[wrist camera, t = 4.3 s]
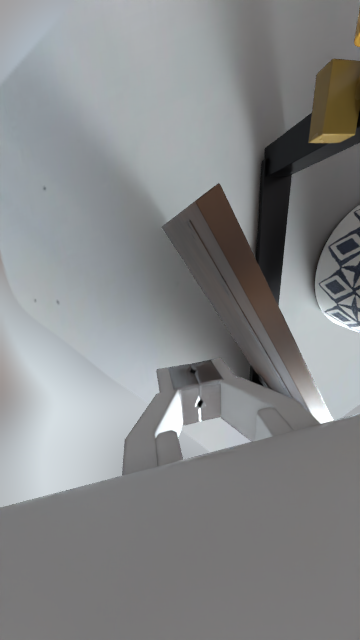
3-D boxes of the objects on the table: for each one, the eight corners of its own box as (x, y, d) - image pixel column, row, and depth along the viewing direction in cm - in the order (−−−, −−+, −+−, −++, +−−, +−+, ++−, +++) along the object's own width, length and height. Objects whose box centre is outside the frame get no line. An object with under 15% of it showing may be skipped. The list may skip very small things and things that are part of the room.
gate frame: (267, 391, 29) (358, 491, 17) (236, 398, 28) (309, 508, 16) (290, 144, 19) (562, -38, 7) (242, 144, 18) (457, -62, 6)
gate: (272, 377, 27) (368, 467, 16) (260, 385, 27) (347, 481, 16) (175, 216, 18) (241, 165, 7) (157, 229, 18) (194, 201, 7)
